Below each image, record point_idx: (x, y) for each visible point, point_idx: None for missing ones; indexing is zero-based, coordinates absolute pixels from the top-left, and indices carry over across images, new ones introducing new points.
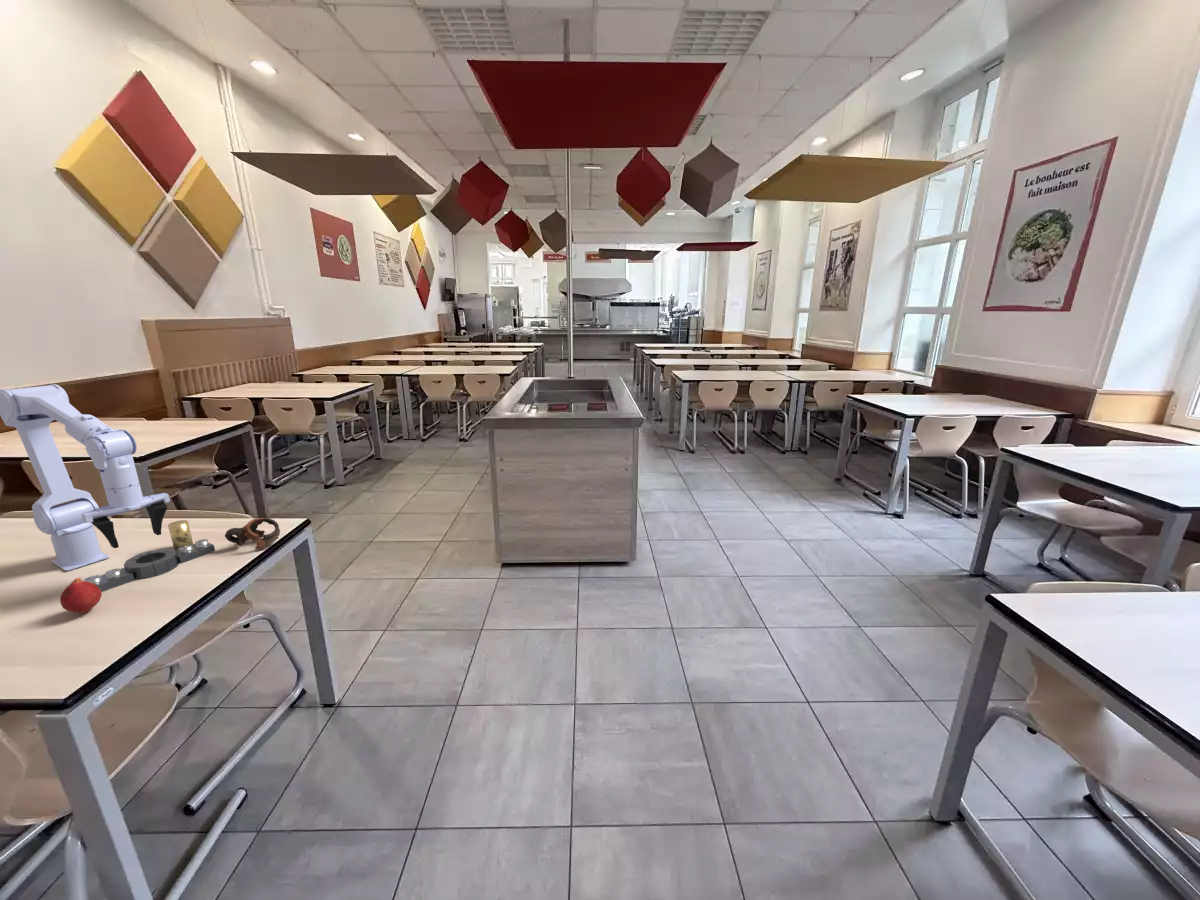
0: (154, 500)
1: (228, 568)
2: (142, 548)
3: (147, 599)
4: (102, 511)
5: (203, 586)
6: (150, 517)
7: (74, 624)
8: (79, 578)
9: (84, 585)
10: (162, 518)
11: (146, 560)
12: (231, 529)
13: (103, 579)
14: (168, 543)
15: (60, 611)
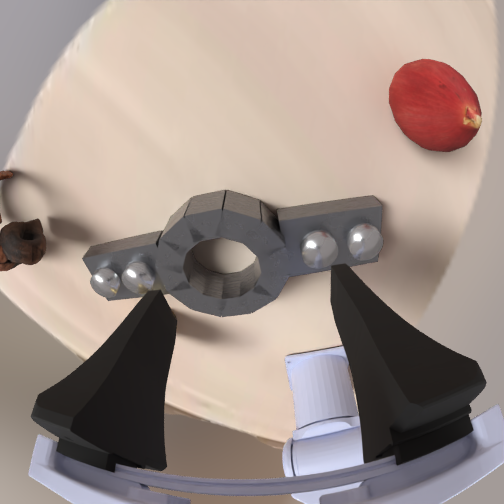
0: (71, 489)
1: (63, 98)
2: (230, 359)
3: (276, 32)
4: (444, 500)
5: (133, 10)
6: (160, 399)
7: (429, 58)
8: (473, 114)
9: (454, 86)
10: (93, 355)
11: (233, 285)
12: (14, 255)
13: (343, 237)
14: (187, 350)
15: (430, 163)
